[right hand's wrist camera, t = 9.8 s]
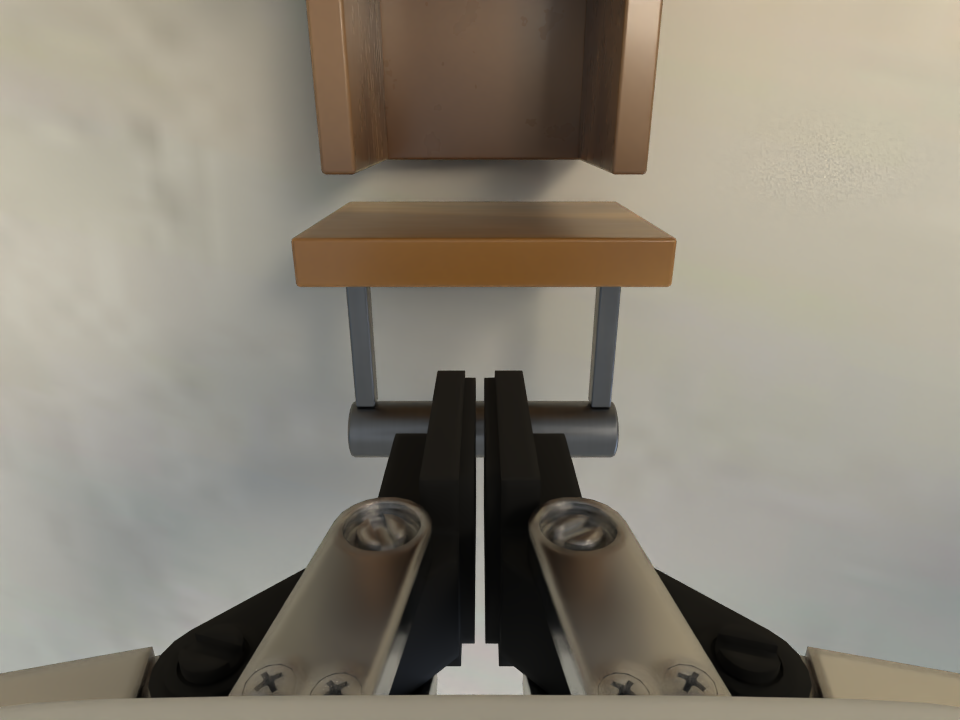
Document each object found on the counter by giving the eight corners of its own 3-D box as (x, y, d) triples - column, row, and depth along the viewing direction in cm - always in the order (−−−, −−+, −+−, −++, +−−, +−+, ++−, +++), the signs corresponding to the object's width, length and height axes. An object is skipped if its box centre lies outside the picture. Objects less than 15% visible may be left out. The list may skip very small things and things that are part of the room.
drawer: (601, 398, 23) (646, 503, 17) (363, 398, 23) (320, 503, 17) (669, -433, 15) (806, -838, 9) (298, -432, 15) (165, -835, 9)
